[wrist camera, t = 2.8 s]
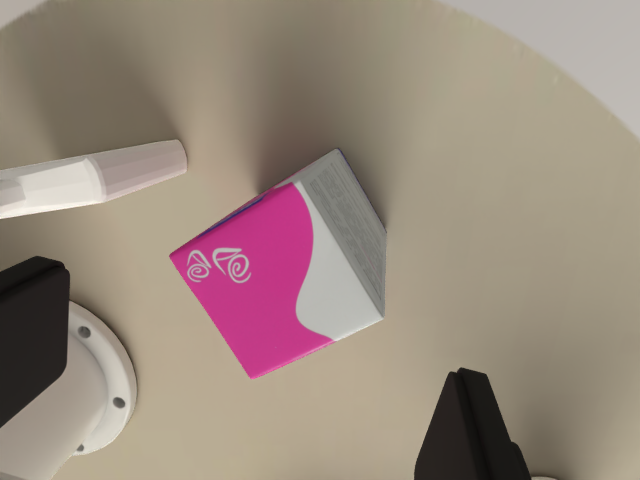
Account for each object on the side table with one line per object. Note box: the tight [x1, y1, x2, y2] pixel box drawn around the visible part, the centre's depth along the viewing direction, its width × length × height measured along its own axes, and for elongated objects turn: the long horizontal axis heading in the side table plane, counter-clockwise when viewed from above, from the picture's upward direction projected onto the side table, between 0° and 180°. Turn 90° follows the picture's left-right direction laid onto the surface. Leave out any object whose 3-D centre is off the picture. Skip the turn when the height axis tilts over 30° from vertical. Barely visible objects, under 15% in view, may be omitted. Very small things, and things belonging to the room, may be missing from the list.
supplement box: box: [169, 148, 387, 379], centre depth 21 cm, size 6×6×12 cm
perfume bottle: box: [0, 139, 187, 219], centre depth 21 cm, size 8×2×12 cm, turn 100°
